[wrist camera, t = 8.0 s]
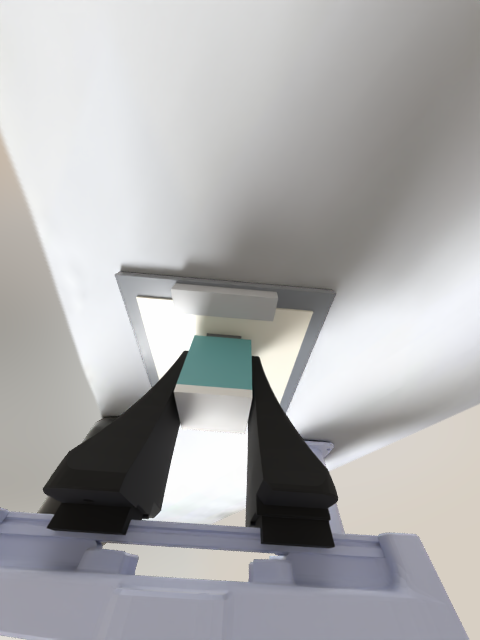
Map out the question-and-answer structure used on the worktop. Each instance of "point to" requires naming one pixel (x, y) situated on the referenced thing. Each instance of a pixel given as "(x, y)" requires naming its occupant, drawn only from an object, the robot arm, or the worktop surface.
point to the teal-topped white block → (215, 384)
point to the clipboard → (225, 322)
